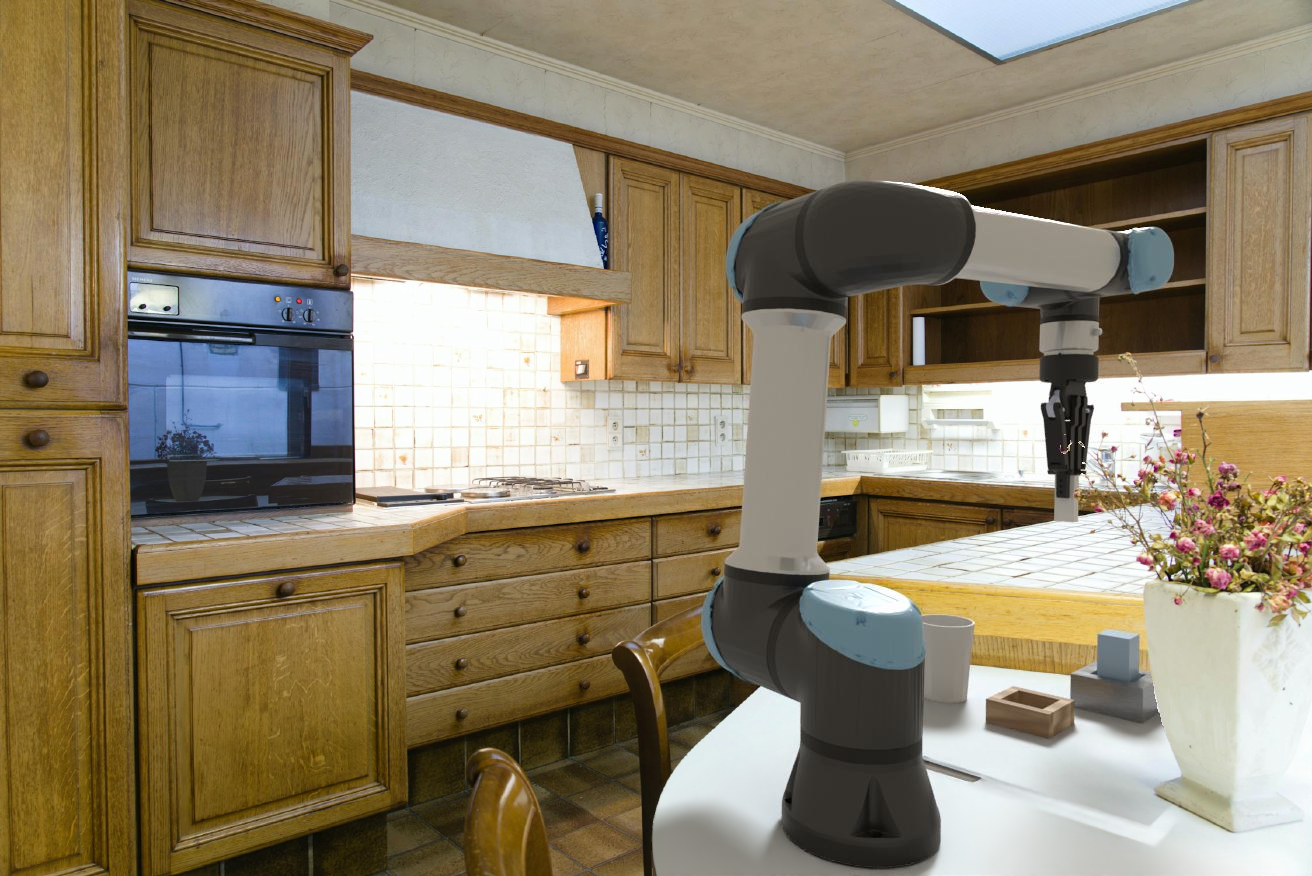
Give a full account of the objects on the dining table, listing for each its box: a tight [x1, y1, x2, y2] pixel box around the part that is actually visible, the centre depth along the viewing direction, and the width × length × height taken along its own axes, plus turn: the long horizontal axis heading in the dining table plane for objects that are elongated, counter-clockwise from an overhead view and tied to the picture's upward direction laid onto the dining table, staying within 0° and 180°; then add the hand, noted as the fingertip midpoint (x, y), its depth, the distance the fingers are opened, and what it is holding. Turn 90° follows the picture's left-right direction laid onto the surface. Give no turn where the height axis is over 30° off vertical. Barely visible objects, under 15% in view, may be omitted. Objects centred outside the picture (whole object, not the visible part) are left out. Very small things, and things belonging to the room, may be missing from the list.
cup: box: [921, 613, 976, 704], centre depth 122 cm, size 8×8×12 cm
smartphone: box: [923, 758, 982, 783], centre depth 103 cm, size 7×1×15 cm
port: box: [1069, 660, 1159, 724], centre depth 117 cm, size 9×9×5 cm
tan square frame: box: [985, 685, 1076, 740], centre depth 111 cm, size 8×8×4 cm
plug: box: [1096, 628, 1141, 683], centre depth 117 cm, size 4×4×10 cm
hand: (1066, 520), depth 122 cm, fingers closed
